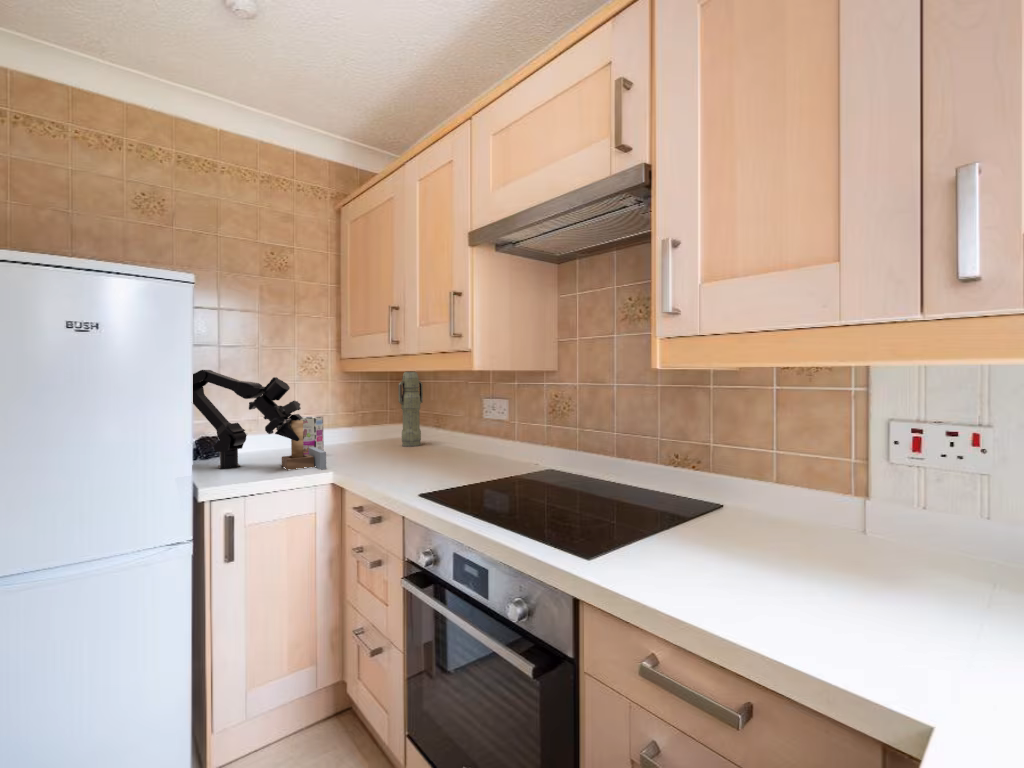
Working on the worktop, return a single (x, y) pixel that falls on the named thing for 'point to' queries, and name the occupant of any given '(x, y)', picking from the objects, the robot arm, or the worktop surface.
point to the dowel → (297, 445)
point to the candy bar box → (312, 433)
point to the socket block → (298, 462)
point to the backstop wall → (318, 457)
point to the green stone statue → (411, 408)
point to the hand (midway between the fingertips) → (301, 439)
